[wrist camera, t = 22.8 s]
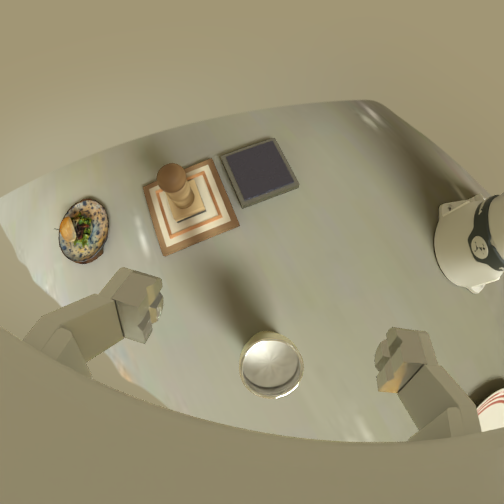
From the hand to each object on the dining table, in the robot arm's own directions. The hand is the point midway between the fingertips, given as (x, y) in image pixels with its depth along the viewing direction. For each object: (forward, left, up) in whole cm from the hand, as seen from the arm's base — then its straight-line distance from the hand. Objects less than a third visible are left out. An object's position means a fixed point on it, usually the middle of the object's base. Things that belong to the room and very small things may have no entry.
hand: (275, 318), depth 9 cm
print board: (+4, -20, -34) cm, 40 cm away
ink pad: (-9, -21, -34) cm, 41 cm away
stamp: (+4, -20, -33) cm, 39 cm away
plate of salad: (+24, -24, -35) cm, 49 cm away
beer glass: (+1, +6, -35) cm, 35 cm away
